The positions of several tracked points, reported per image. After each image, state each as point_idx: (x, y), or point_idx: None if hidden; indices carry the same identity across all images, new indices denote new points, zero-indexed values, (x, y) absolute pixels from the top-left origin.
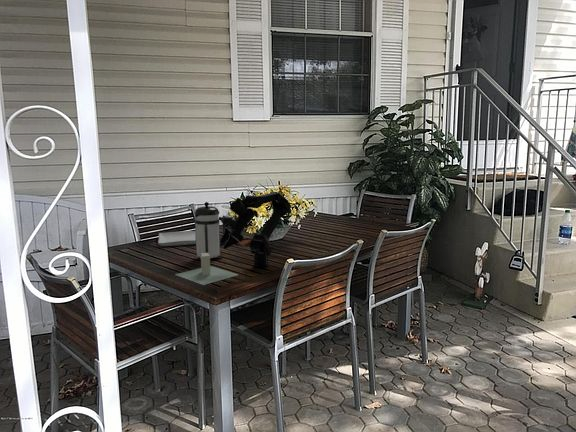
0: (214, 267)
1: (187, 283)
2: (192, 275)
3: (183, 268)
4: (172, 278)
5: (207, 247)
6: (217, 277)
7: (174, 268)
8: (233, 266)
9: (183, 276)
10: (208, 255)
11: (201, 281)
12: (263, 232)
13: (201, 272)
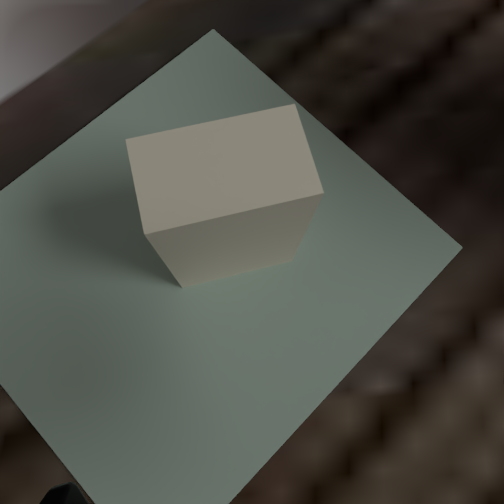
0: (406, 296)
1: (11, 142)
2: None
3: (394, 62)
4: (149, 31)
5: None
6: (93, 360)
7: (392, 7)
8: (483, 481)
9: (158, 90)
10: (166, 213)
11: (4, 236)
12: None
13: None
